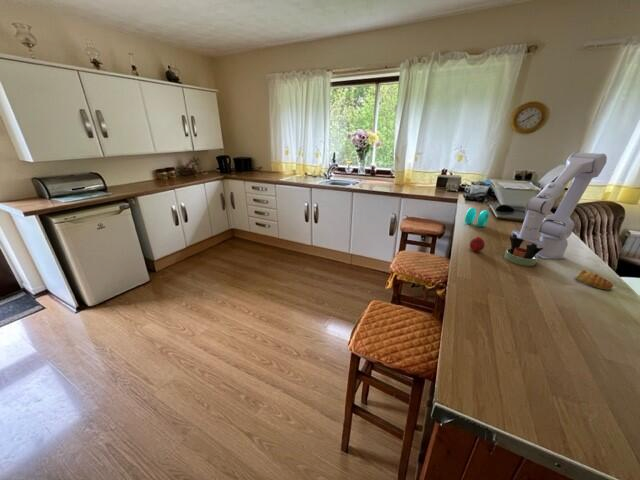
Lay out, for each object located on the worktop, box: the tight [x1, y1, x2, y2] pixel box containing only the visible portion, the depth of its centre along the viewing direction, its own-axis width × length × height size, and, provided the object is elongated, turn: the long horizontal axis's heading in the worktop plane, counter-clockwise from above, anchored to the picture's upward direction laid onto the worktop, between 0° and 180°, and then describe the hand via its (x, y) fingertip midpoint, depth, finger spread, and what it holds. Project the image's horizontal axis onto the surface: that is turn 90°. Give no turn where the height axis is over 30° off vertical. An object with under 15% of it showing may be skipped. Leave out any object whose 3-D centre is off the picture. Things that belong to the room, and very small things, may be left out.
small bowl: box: [513, 247, 527, 258], centre depth 109 cm, size 6×6×4 cm
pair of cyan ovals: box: [464, 207, 490, 228], centre depth 150 cm, size 10×10×10 cm
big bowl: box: [503, 247, 539, 267], centre depth 109 cm, size 11×11×4 cm
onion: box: [469, 235, 486, 253], centre depth 116 cm, size 6×6×8 cm
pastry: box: [574, 269, 614, 291], centre depth 92 cm, size 9×7×4 cm
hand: (520, 256), depth 109 cm, fingers open, 7 cm apart
